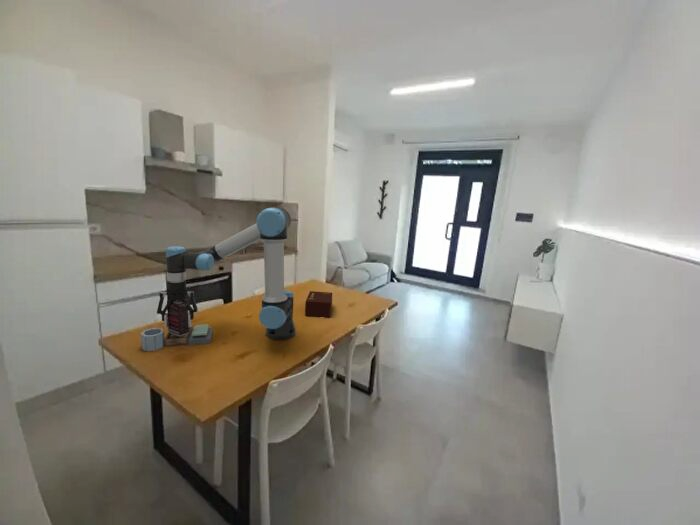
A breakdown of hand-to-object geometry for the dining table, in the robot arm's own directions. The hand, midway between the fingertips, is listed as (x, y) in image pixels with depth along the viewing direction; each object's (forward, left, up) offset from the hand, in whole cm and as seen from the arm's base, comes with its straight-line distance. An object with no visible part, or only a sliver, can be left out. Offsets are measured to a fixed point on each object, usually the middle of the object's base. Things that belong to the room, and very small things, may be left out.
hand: (178, 326), depth 140 cm
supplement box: (0, 0, -3) cm, 3 cm away
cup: (+9, +6, -6) cm, 12 cm away
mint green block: (-10, +1, -5) cm, 11 cm away
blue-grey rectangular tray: (-10, +1, -6) cm, 12 cm away
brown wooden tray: (0, 0, -6) cm, 6 cm away
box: (-75, -26, -7) cm, 80 cm away
